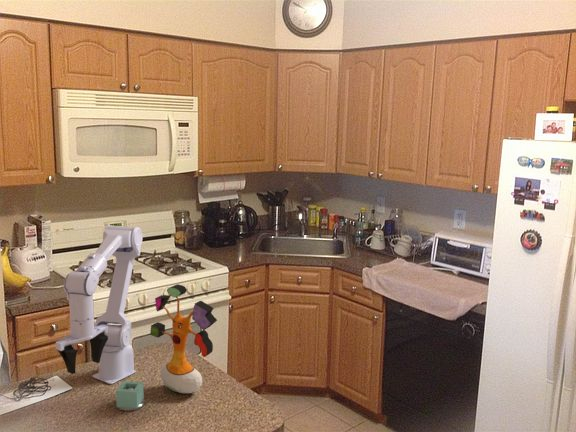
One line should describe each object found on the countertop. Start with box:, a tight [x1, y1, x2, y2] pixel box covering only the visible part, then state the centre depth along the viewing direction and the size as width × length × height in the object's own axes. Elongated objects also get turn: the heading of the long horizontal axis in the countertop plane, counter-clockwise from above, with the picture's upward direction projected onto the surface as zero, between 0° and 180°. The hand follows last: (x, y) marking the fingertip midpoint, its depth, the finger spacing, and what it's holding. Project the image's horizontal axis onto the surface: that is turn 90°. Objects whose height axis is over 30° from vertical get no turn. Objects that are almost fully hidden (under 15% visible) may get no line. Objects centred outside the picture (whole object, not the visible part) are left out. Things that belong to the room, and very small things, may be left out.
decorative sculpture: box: [149, 284, 218, 394], centre depth 150 cm, size 20×8×30 cm, turn 65°
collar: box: [115, 380, 145, 408], centre depth 144 cm, size 5×5×4 cm
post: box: [116, 387, 146, 413], centre depth 144 cm, size 7×7×4 cm
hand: (84, 367), depth 143 cm, fingers open, 7 cm apart
